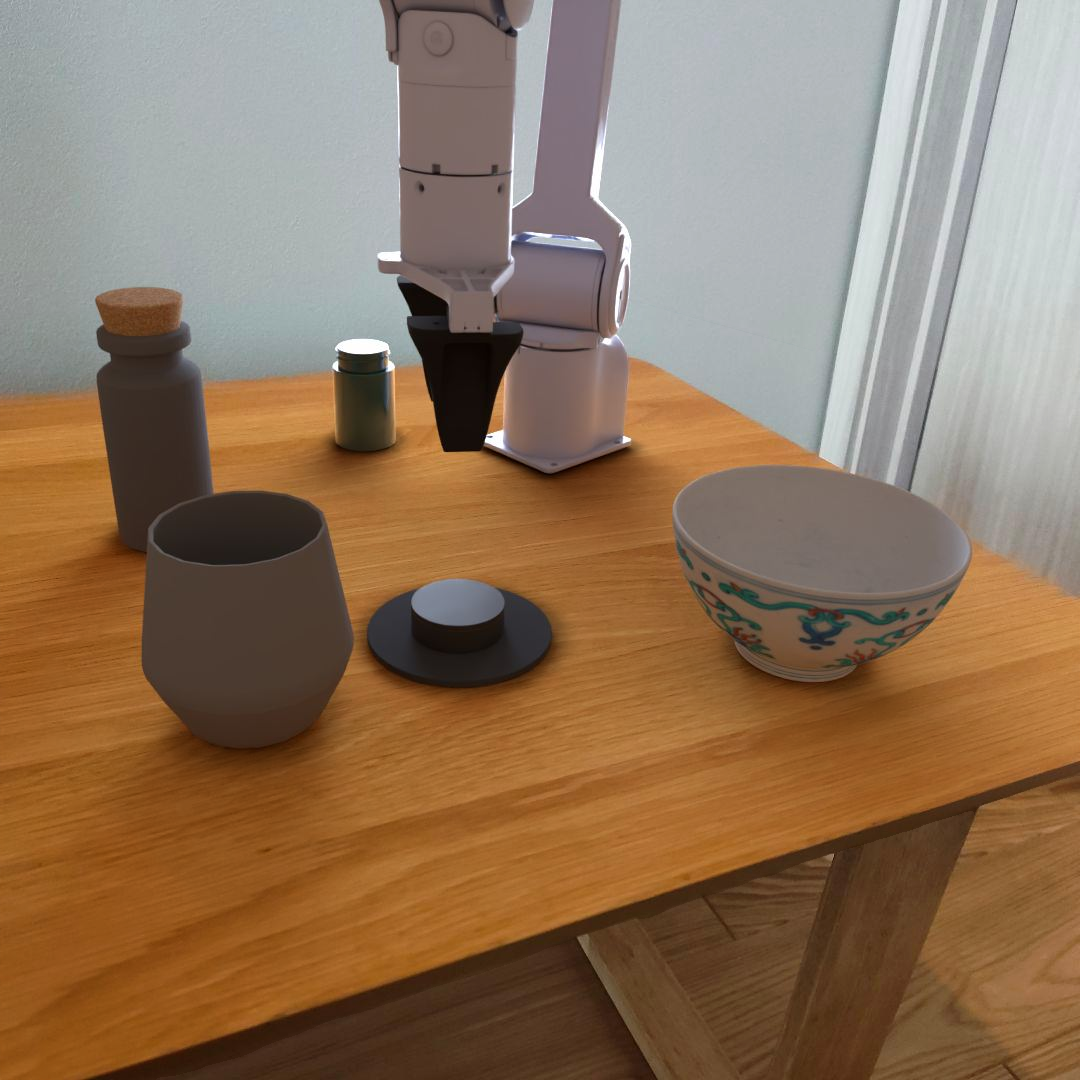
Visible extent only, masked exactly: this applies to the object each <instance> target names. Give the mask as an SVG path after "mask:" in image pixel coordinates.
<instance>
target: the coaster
mask: <svg viewBox="0 0 1080 1080" xmlns="http://www.w3.org/2000/svg"><path fill="white" fill-rule="evenodd" d="M493 587H494V588H495V589H497V590H498V591H499V592H500V593H501V594H502V596H503V597H504V600H505V615H504V632H503V635H502V636H501V638H500V639H499V640H498V641H497V642H496V643H495V644H493V645H492V646H490V647H488V648H486V649H483V650H480V651H476V652H470V653H446V652H440V651H436V650H433V649H430V648H428V647H426V646H424V645H422V644H421V643H419V642H418V641H417V640H416V639H415V637H414V636H413V634H412V630H411V600H412V597H413V595H414V594H415V592H416V591H418V590H419V589H420V588H421V587H420V588H415V589H411V590H408V591H406V592H404V593H403V592H402V593H401V594H399V595H397V596H394V597H393V598H391V599H389V600H388V601H386V602H384V603H383V604H382V605H381V606H379V608H377V610H376V611H375V612H374V613H373V614H372V616H371V617H370V619H369V621H368V624H367V628H366V639H367V641H366V642H367V646H368V648H369V650H370V653H371V654H372V656H373V657H374V658H375V659H376V661H378V663H380V664H381V665H382V666H383V667H384V668H386V669H387V670H389V671H391V672H392V673H394V674H395V675H398V676H400V677H402V678H405V679H408V680H411V681H413V682H416V683H421V684H424V685H428V686H429V685H430V686H437V687H444V688H476V687H484V686H491V685H495V684H499V683H503V682H506V681H509V680H512V679H515V678H517V677H520V676H522V675H524V674H525V673H527V672H529V671H531V670H533V669H534V668H535V667H536V666H538V665H539V664H540V663H541V662H542V661H543V660H544V658H546V656H547V654H548V653H549V651H550V648H551V646H552V639H553V631H552V625H551V623H550V619H549V618H548V617H547V615H546V613H545V612H544V611H543V610H542V609H541V608H540V607H539V606H537V605H536V604H535V603H534V602H532V601H531V600H529V599H527V598H526V597H523V596H521V595H519V594H517V593H514V592H512V591H509V590H506V589H503V588H499V587H495V586H493Z"/></svg>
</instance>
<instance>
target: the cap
mask: <svg viewBox="0 0 1080 1080" xmlns="http://www.w3.org/2000/svg"><path fill="white" fill-rule="evenodd" d="M494 587H495V586H492V585H490V584H487V583H485V582H482V581H478V580H474V579H467V578H449V579H448V578H447V579H442V580H441V579H440V580H436V581H432V582H429V583H428V584H425V585H424V586H421V587H420V589H419V588H418V589H419V590H418V591H416V592H415V594H414V595H413V597H412V600H411V630H412V634H413V636H414V637H415V639H416V640H417V641H418V642H419V643H421V644H422V645H424V646H426V647H428V648H430V649H433V650H436V651H440V652H446V653H470V652H476V651H480V650H483V649H486V648H488V647H490V646H492V645H493V644H495V643H496V642H497V641H498V640H499V639H500V638H501V636H502V635H503V632H504V615H505V600H504V597H503V596H502V594H501V593H500V592H499V591H498V590H497V589H495V588H496V587H495V588H494Z"/></svg>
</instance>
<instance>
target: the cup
mask: <svg viewBox="0 0 1080 1080" xmlns="http://www.w3.org/2000/svg"><path fill="white" fill-rule="evenodd" d="M327 522H328V521H327V520H326V516H325V514H324V511H323V510H321V509H320V508H319V507H318V506H316V505H315V504H313V503H312V502H311V501H309V500H306V499H303V498H301V497H298V496H295V495H292V494H289V493H283V492H276V491H268V490H230V491H223V492H218V493H214V494H210V495H204V496H201V497H198V498H195V499H191V500H188V501H185V502H182V503H179V504H177V505H175V506H174V507H172V508H170V509H168V510H167V511H165V512H163V513H162V514H160V515H159V516H158V517H157V518H156V519H155V520H154V522H153V523H152V524H151V525H150V527H149V528H148V540H147V552H146V557H145V559H146V560H145V576H144V591H143V592H144V593H143V595H144V596H143V608H142V609H143V612H142V627H141V628H142V629H141V669H142V672H143V674H144V677H145V679H146V680H147V682H148V684H150V686H151V687H152V688H153V690H154V691H155V692H156V693H157V695H158V696H159V697H160V699H161V700H162V701H163V703H164V704H165V705H166V706H167V707H168V708H169V709H170V710H171V711H172V712H173V714H174V715H175V716H176V717H177V718H178V719H179V720H180V721H181V723H182V724H183V725H184V726H185V727H186V728H187V729H188V730H189V731H190V732H191V733H192V734H193V736H195V737H198V739H199V738H200V739H202V740H204V741H205V742H207V743H210V744H211V745H215V746H220V747H226V748H231V749H236V750H240V749H241V750H242V749H260V748H261V749H262V748H265V747H269V746H272V745H277V744H281V743H284V742H286V741H288V740H290V739H292V738H294V737H296V736H297V735H299V734H301V733H303V732H305V731H307V730H308V729H309V728H310V727H311V726H312V725H313V724H314V723H315V722H316V721H317V720H318V719H319V718H320V717H321V715H322V714H323V712H324V711H325V709H326V707H327V705H328V704H329V702H330V700H331V698H332V696H333V695H334V693H335V691H336V690H337V687H338V686H339V684H340V682H341V680H342V679H343V676H344V675H345V672H346V671H347V667H348V664H349V662H350V658H351V656H352V653H353V649H354V643H355V642H354V641H355V636H354V629H353V626H352V622H351V618H350V614H349V608H348V606H347V605H348V604H347V601H346V598H345V597H346V596H345V593H344V592H345V591H344V588H343V584H342V581H341V576H340V572H339V567H338V563H337V559H336V556H335V555H336V554H335V551H334V546H333V543H332V538H331V535H330V530H329V526H328V523H327Z"/></svg>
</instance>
